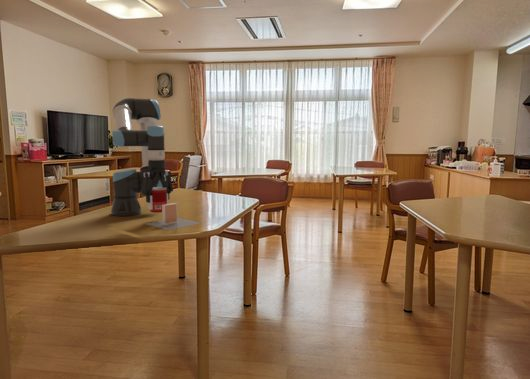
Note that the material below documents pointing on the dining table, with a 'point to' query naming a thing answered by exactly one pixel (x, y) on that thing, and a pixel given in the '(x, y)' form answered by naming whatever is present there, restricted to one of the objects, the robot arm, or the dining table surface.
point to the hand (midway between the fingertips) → (158, 208)
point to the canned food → (158, 198)
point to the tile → (169, 213)
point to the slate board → (179, 224)
